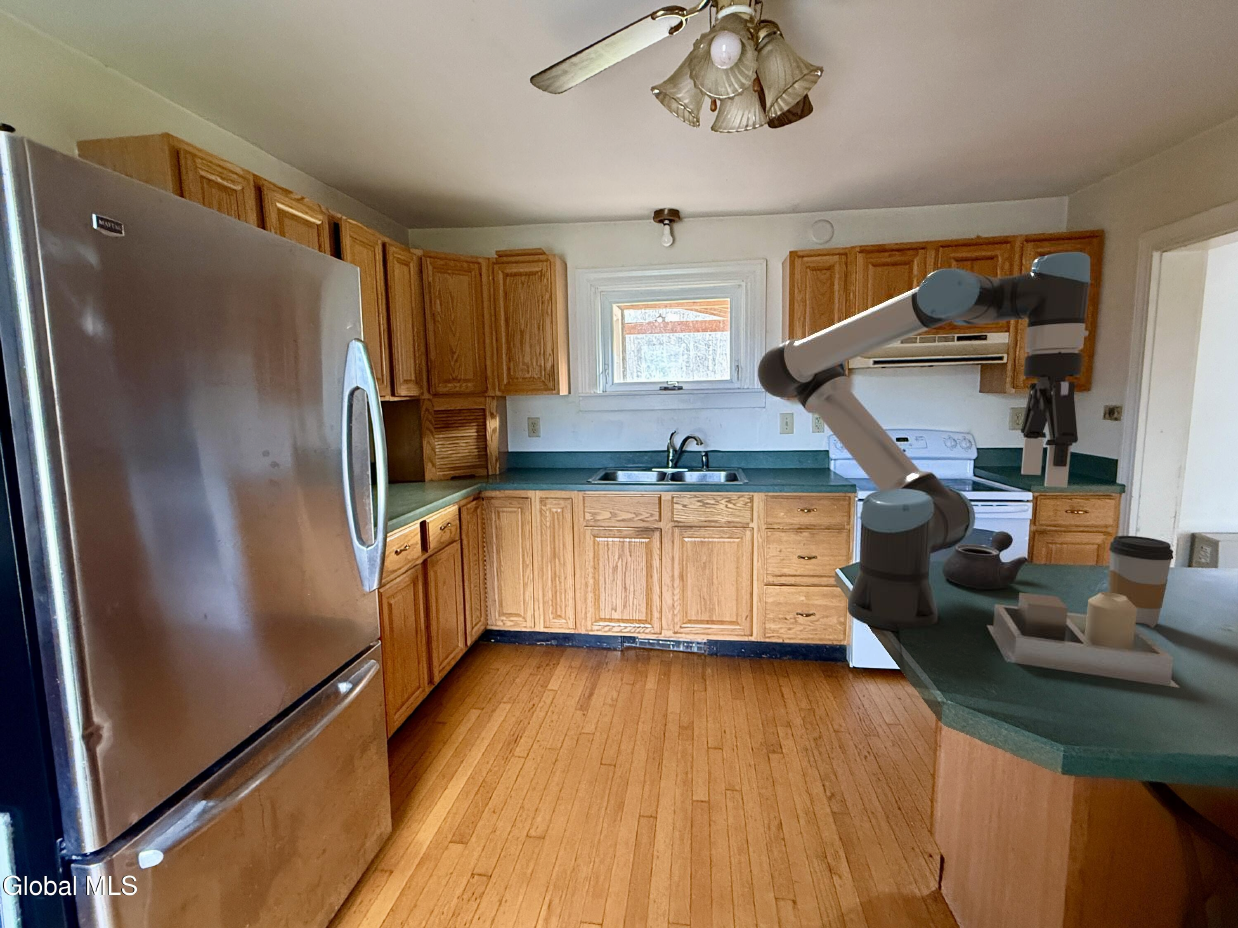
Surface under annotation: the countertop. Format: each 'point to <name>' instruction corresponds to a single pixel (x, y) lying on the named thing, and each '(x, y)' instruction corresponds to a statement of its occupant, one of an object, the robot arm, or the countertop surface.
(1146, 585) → the coffee cup
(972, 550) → the teapot
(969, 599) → the countertop surface
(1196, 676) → the countertop surface
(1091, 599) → the candle
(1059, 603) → the block
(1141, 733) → the countertop surface
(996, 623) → the divided tray
